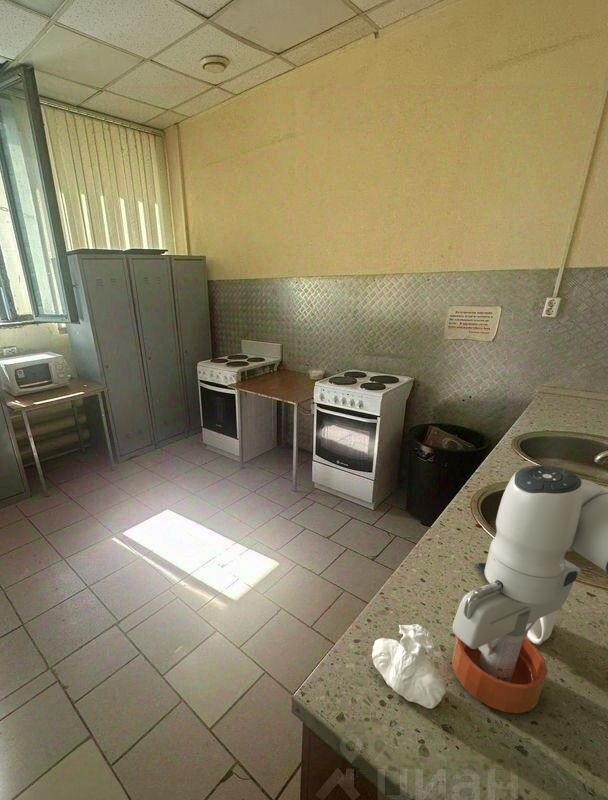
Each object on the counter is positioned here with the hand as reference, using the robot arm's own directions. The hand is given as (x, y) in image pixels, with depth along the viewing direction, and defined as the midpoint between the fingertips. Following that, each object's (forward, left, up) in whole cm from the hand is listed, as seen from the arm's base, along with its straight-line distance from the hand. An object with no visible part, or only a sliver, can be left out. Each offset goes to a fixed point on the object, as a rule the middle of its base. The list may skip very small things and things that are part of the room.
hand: (502, 643), depth 62 cm
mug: (-10, -10, -8) cm, 16 cm away
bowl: (0, 0, -8) cm, 8 cm away
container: (0, 0, -7) cm, 7 cm away
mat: (-13, -24, -8) cm, 28 cm away
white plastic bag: (+14, +2, -8) cm, 16 cm away
